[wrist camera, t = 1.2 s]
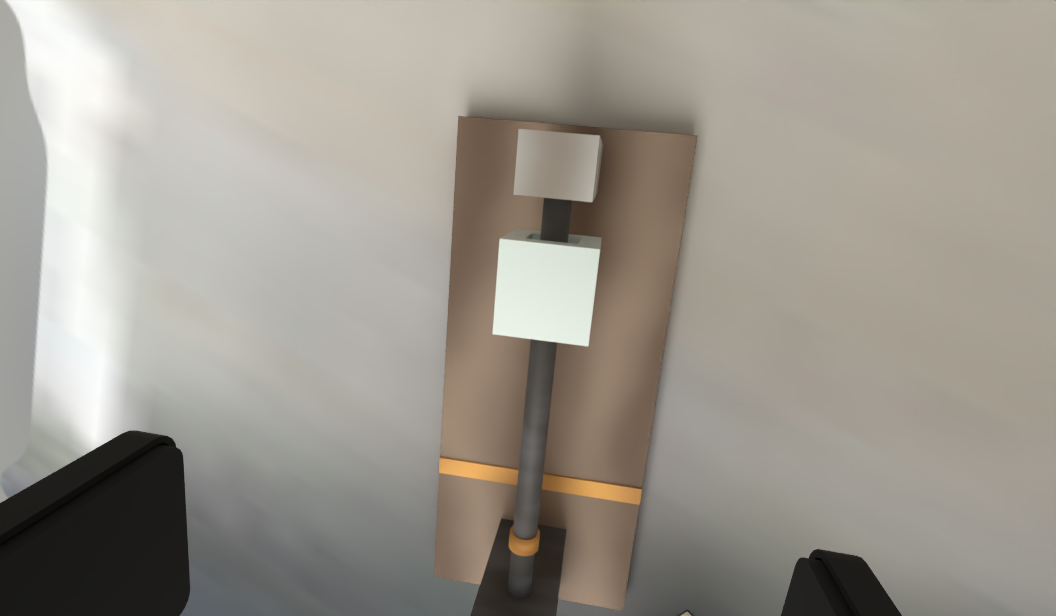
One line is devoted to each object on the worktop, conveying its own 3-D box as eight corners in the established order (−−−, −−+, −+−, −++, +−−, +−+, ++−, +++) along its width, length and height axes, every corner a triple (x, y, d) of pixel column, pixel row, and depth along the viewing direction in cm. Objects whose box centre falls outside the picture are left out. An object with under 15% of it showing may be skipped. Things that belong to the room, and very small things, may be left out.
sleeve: (601, 237, 26) (600, 249, 22) (591, 321, 27) (588, 346, 23) (516, 228, 26) (499, 238, 22) (509, 310, 27) (492, 334, 23)
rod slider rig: (693, 137, 29) (730, 122, 20) (622, 592, 36) (625, 737, 27) (465, 118, 30) (402, 96, 21) (440, 560, 37) (385, 687, 28)
